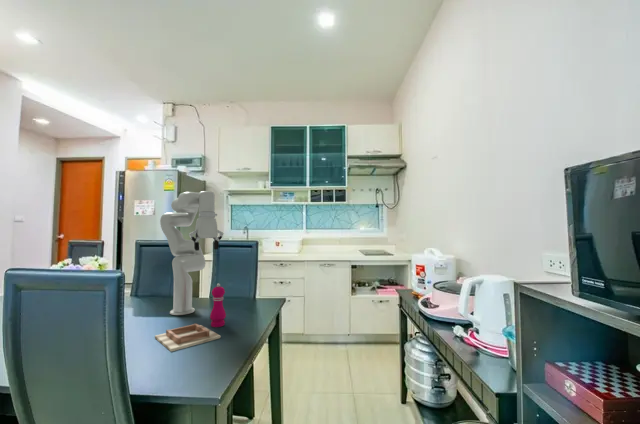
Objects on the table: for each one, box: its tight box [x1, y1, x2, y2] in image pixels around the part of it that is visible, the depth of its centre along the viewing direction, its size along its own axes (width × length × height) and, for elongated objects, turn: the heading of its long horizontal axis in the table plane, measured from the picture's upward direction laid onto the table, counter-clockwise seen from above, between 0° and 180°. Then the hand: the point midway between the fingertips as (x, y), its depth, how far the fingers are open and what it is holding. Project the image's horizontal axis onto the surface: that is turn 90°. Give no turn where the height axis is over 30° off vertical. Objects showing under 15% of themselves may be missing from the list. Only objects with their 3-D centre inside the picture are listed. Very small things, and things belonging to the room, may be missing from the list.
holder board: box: [154, 323, 221, 352], centre depth 130 cm, size 20×20×3 cm
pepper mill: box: [209, 283, 227, 328], centre depth 147 cm, size 7×7×20 cm
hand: (206, 249), depth 151 cm, fingers open, 9 cm apart
